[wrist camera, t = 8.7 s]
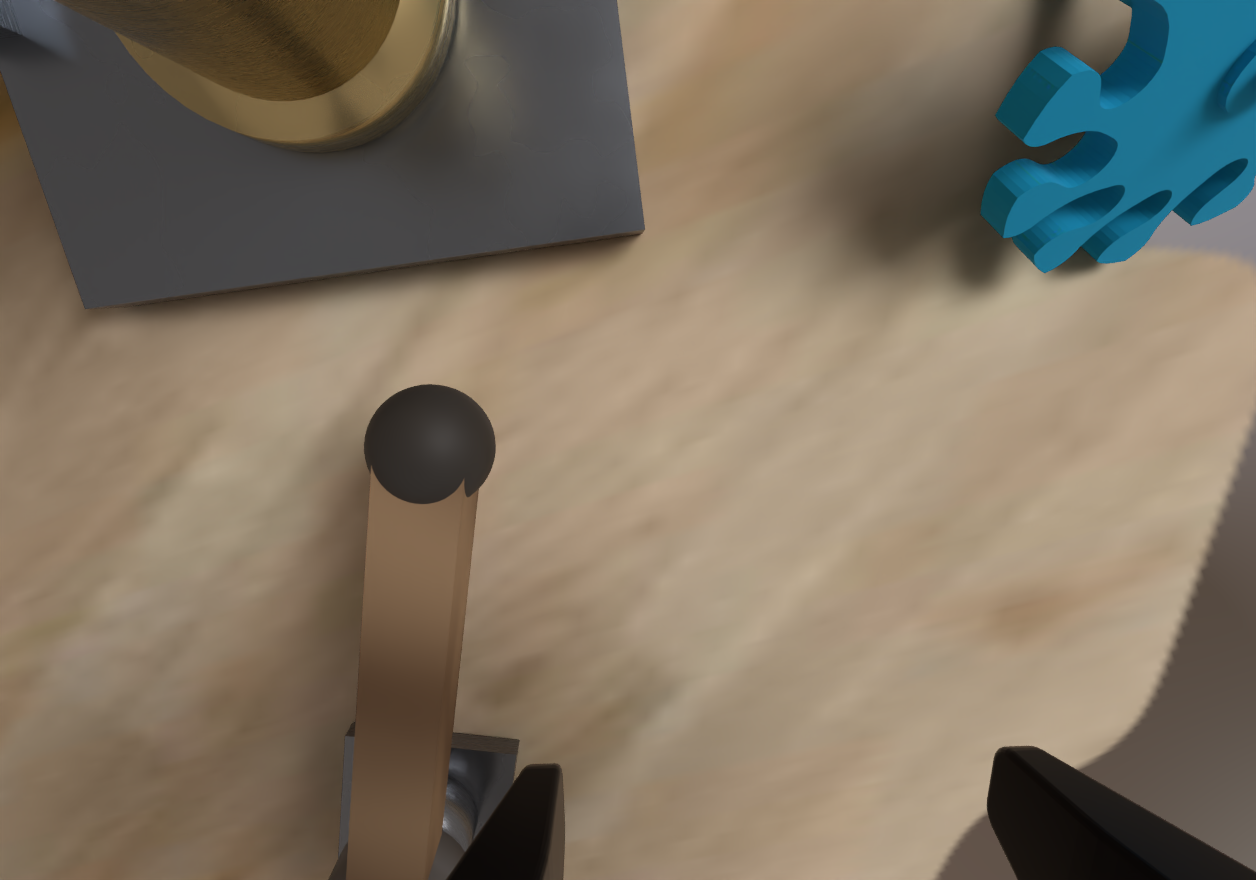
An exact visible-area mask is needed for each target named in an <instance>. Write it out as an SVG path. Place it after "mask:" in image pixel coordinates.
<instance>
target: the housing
mask: <svg viewBox="0 0 1256 880" xmlns="http://www.w3.org/2000/svg"><path fill="white" fill-rule="evenodd" d="M54 1H56V2H58V3H60V4H62V5H64V6H66V7H68V8H70V9H72V10H74V11H76V12H78V13H80V14H82V15H83V16H85V17H87V18H89V19H91V20H93V21H95V22H97V23H99V24H101V25H103V26H105V27H107V28H109V29H111V30H113V31H115V33H116V34H117V36H118V37H119V39H120V40H121V42H122V43H123V45H124V46H125V47H126V49H127V50H128V52H129V53H130V55H131V56H132V57H133V58H134V59H135V60H136V62H137V63H138V64H139V65H140V66H141V67H142V69H143V70H144V71H145V72H146V73H147V74H148V75H149V76H150V77H151V78H152V79H153V80H154V81H155V82H156V83H157V84H158V85H159V86H160V87H161V88H162V89H163V90H164V91H166V92H167V93H168V94H169V95H171V96H172V97H173V98H175V99H176V100H177V101H179V102H180V103H181V104H183V105H184V106H185V107H187V108H188V109H190V110H192V111H194V112H195V113H197V114H199V115H200V116H202V117H204V118H205V119H207V120H209V121H212V122H214V123H216V124H218V125H221V126H223V127H225V128H227V129H230V130H232V131H235V132H237V133H239V134H242V135H244V136H247V137H249V138H252V139H254V140H257V141H259V142H261V143H264V144H268V145H271V146H274V147H278V148H281V149H286V150H293V151H299V152H319V153H323V152H332V151H340V150H345V149H349V148H352V147H356V146H360V145H362V144H365V143H367V142H369V141H372V140H374V139H376V138H379V137H380V136H382V135H383V134H385V133H387V132H388V131H390V130H391V129H393V128H395V127H396V126H397V125H398V124H399V123H401V122H402V121H403V120H404V119H405V118H406V117H408V116H409V115H410V114H411V113H412V112H413V111H414V109H415V108H416V107H417V106H418V105H419V104H420V102H421V101H422V100H423V99H424V98H425V96H426V94H427V93H428V91H429V90H430V88H431V87H432V85H433V84H434V82H435V80H436V78H437V76H438V74H439V72H440V70H441V68H442V66H443V63H444V61H445V58H446V55H447V52H448V48H449V45H450V42H451V38H452V32H453V27H454V22H455V12H456V0H54Z"/></svg>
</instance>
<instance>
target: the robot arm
mask: <svg viewBox="0 0 1256 880" xmlns="http://www.w3.org/2000/svg"><path fill="white" fill-rule="evenodd" d="M987 812H988V817H989V819H990V823H991V826H992V828H993V830H994V832H995V834H996V836H997V838H998V840H999V843H1000V845H1001V847H1002V849H1003V851H1004V853H1005V855H1006V857H1007V859H1008V861H1009V863H1010V865H1011V867H1012V869H1013V871H1014V873H1015V875H1016V878H1017V880H1256V872H1255V871H1254V870H1252V869H1250V868H1248V867H1247V866H1245V865H1243V864H1241V863H1239V862H1238V861H1236V860H1234V859H1233V858H1230V857H1229V856H1227V855H1226V854H1224V853H1222V852H1220V851H1219V850H1217V849H1215V848H1213V847H1211V846H1210V845H1208V844H1206V843H1205V842H1203V841H1201V840H1199V839H1198V838H1196V837H1194V836H1192V835H1190V834H1189V833H1187V832H1185V831H1183V830H1181V829H1180V828H1178V827H1177V826H1175V825H1173V824H1171V823H1169V822H1167V821H1166V820H1164V819H1162V818H1161V817H1159V816H1157V815H1155V814H1154V813H1152V812H1150V811H1148V810H1147V809H1145V808H1143V807H1141V806H1140V805H1138V804H1136V803H1134V802H1133V801H1131V800H1129V799H1127V798H1126V797H1124V796H1122V795H1120V794H1118V793H1117V792H1115V791H1113V790H1112V789H1110V788H1108V787H1106V786H1105V785H1103V784H1101V783H1099V782H1097V781H1096V780H1094V779H1092V778H1091V777H1089V776H1087V775H1085V774H1084V773H1082V772H1080V771H1078V770H1077V769H1075V768H1073V767H1071V766H1070V765H1068V764H1066V763H1064V762H1063V761H1061V760H1059V759H1057V758H1056V757H1054V756H1052V755H1050V754H1049V753H1047V752H1045V751H1043V750H1041V749H1039V748H1037V747H1034V746H1009V747H1002V748H999V749H998V751H997V752H996V753H995V756H994V761H993V767H992V773H991V779H990V785H989V791H988V797H987ZM564 849H565V814H564V794H563V775H562V769H561V767H560V765H558V764H556V763H553V764H530V765H527V766H526V767H525V768H524V769H523V770H522V771H521V773H520V774H519V776H518V777H517V779H516V780H515V781H514V783H513V784H512V786H511V787H510V789H509V790H508V791H507V793H506V794H505V796H504V797H503V799H502V800H501V801H500V803H499V804H498V806H497V807H496V809H495V810H494V811H493V813H492V814H491V816H490V817H489V819H488V820H487V821H486V823H485V824H484V826H483V827H482V829H481V830H480V831H479V833H478V834H477V836H476V837H475V839H474V840H473V841H472V843H471V844H470V846H469V847H468V849H467V850H466V851H465V853H464V854H463V856H462V857H461V859H460V860H459V861H458V863H457V864H456V866H455V867H454V869H453V870H452V871H451V873H450V874H449V876H448V877H447V879H446V880H563V872H564Z"/></svg>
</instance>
